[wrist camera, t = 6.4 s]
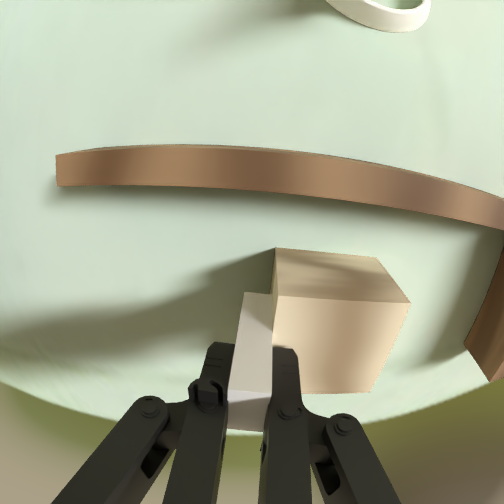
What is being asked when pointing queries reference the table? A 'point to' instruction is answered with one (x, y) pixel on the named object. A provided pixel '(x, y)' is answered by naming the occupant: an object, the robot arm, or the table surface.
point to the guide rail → (310, 184)
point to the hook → (383, 15)
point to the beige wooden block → (335, 317)
